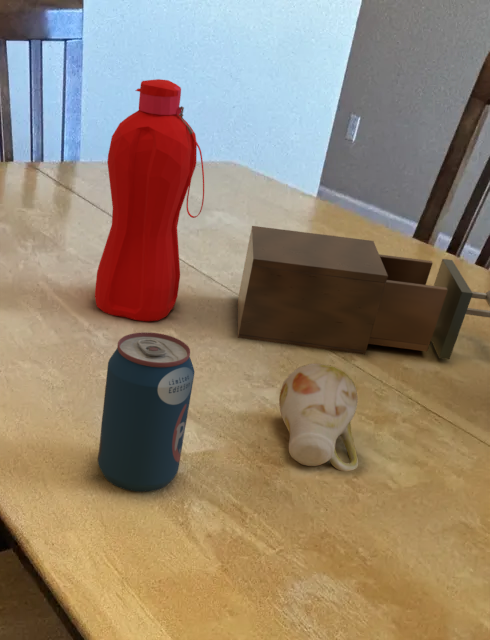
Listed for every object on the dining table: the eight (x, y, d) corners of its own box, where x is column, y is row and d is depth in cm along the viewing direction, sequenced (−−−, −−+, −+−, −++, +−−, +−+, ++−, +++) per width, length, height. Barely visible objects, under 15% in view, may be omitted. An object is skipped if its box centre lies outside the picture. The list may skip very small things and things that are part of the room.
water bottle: (174, 333, 101) (210, 96, 86) (86, 314, 104) (105, 80, 89) (194, 307, 108) (230, 83, 94) (111, 290, 111) (133, 69, 96)
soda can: (188, 494, 74) (212, 363, 67) (110, 502, 72) (126, 368, 65) (159, 452, 79) (178, 327, 72) (86, 458, 77) (98, 330, 70)
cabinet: (352, 317, 110) (373, 240, 104) (364, 357, 100) (388, 275, 94) (237, 302, 111) (251, 225, 105) (237, 340, 101) (253, 258, 95)
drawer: (478, 328, 108) (501, 265, 103) (500, 366, 99) (526, 300, 94) (322, 307, 109) (338, 245, 105) (330, 343, 100) (348, 277, 96)
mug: (267, 473, 78) (270, 359, 77) (282, 470, 87) (284, 368, 86) (355, 474, 75) (359, 356, 74) (360, 471, 84) (364, 366, 83)
